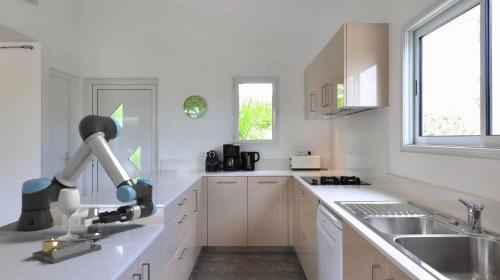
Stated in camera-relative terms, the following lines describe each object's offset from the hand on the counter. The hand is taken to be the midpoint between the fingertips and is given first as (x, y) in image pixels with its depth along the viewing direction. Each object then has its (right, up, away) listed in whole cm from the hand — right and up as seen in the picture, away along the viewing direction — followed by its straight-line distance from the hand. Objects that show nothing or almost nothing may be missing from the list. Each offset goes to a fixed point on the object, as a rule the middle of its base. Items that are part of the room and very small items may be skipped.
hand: (80, 222), depth 129 cm
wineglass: (-9, -9, +8) cm, 15 cm away
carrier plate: (+2, -8, -12) cm, 14 cm away
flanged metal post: (+3, -7, +4) cm, 9 cm away
